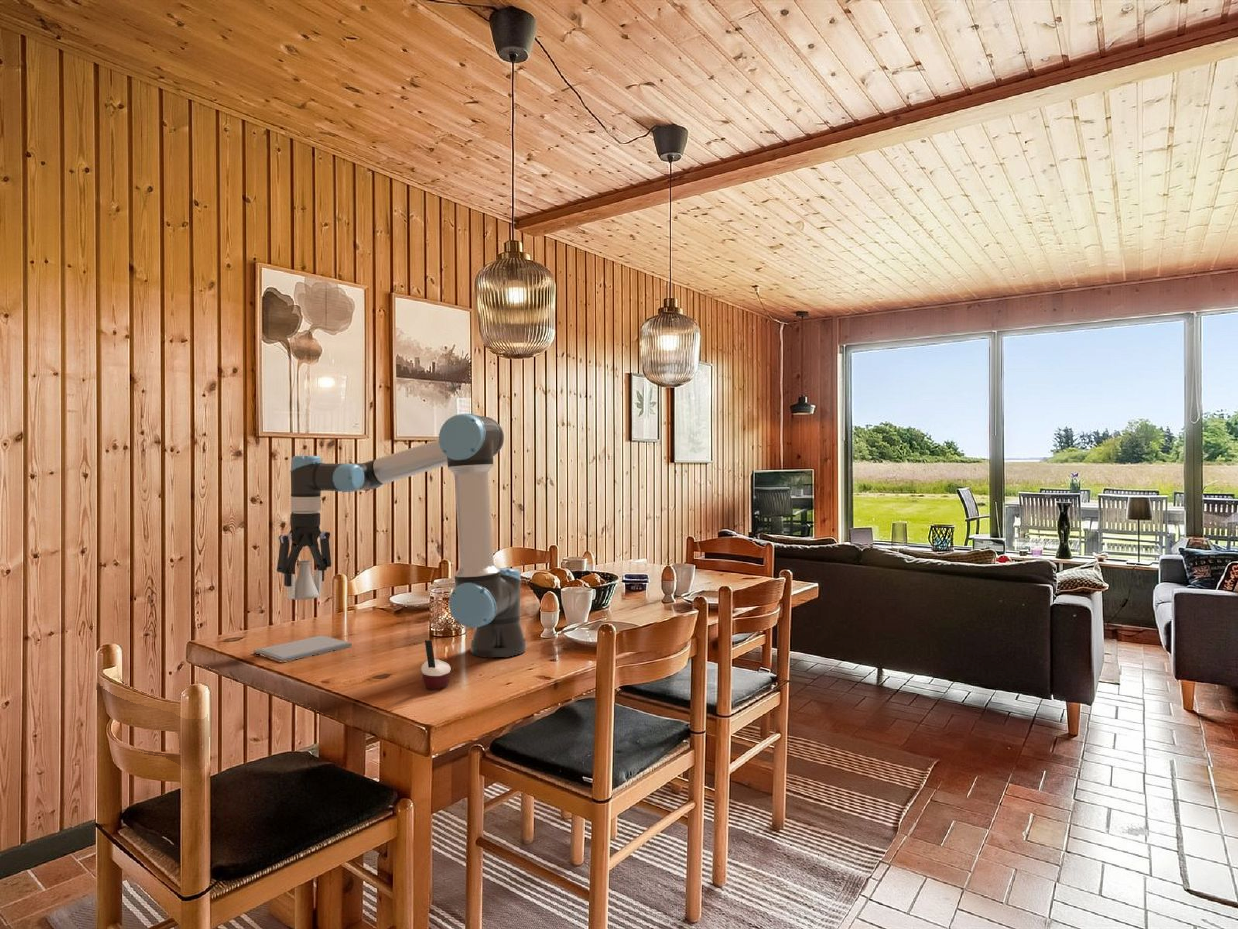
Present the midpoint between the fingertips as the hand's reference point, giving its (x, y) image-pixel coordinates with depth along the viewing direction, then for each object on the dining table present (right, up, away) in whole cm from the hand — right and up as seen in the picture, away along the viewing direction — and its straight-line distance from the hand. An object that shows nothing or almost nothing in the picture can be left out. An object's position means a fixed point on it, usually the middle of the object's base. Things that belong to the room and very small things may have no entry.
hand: (304, 595), depth 192 cm
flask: (0, -1, 0) cm, 1 cm away
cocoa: (+43, -16, -28) cm, 54 cm away
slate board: (0, -15, 0) cm, 15 cm away
